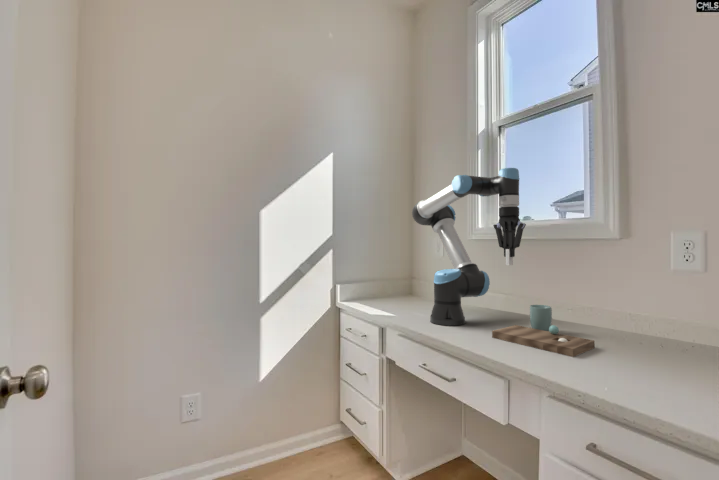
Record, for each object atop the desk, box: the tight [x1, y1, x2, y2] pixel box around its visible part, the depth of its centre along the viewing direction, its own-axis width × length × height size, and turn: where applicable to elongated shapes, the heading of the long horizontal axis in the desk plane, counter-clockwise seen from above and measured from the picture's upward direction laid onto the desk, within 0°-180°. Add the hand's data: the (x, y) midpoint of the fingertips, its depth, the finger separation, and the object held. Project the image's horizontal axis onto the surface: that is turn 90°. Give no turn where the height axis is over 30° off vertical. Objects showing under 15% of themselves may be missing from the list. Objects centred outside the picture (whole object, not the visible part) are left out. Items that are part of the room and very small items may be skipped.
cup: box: [529, 304, 553, 332], centre depth 141 cm, size 8×8×10 cm
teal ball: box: [549, 324, 560, 334], centre depth 126 cm, size 3×3×3 cm
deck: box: [491, 324, 596, 358], centre depth 125 cm, size 28×16×2 cm, turn 36°
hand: (509, 265), depth 142 cm, fingers closed
